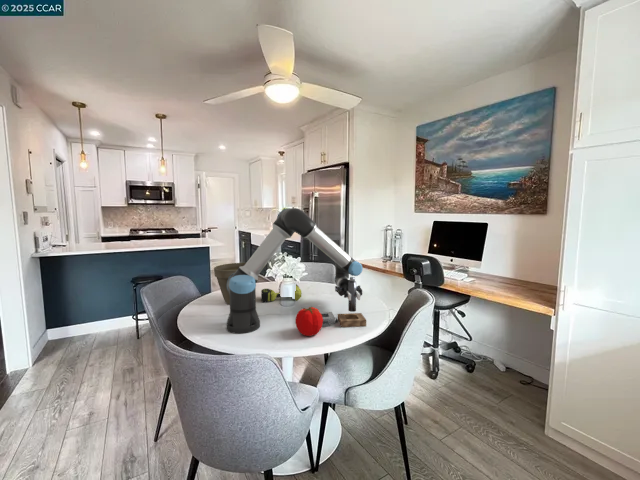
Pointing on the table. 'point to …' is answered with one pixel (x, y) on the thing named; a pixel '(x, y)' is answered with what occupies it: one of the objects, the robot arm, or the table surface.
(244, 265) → the robot arm
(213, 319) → the table surface
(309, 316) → the tomato
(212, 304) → the table surface
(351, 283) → the metal bottle
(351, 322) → the frame
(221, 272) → the plant pot
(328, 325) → the bar
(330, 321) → the socket collar
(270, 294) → the cordless drill
